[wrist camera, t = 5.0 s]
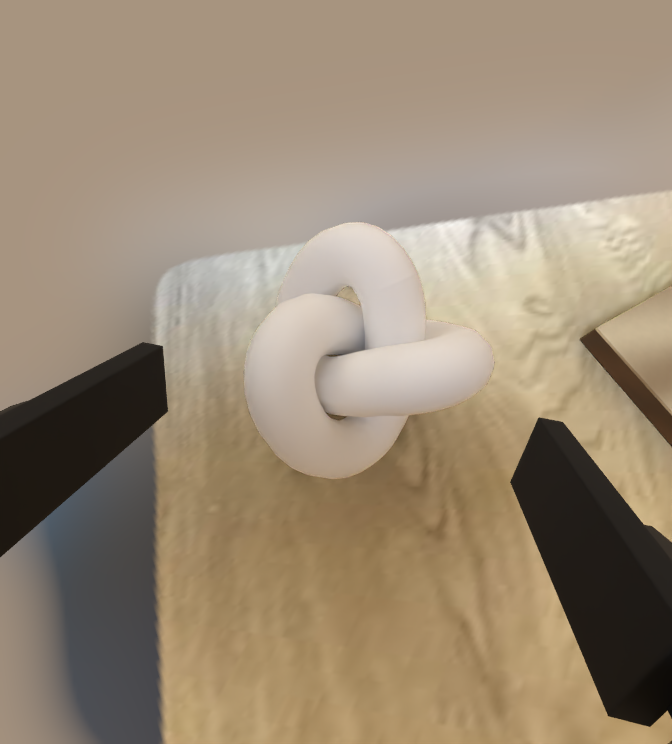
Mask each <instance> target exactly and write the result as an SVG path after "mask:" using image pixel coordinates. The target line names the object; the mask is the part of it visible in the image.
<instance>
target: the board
mask: <svg viewBox="0 0 672 744" xmlns="http://www.w3.org/2000/svg"><path fill="white" fill-rule="evenodd" d="M580 340H581V341H582V343H583V344H584V345H585V346H586V347H587V348H588V350H589V351H590V352H591V353H592V354H593V355H594V357H595V358H596V359H597V360H598V361H599V362H600V363H601V365H602V366H603V367H604V368H605V369H606V370H607V372H608V373H609V374H610V375H611V376H612V377H613V379H614V380H615V381H616V382H617V383H618V384H619V385H620V387H621V388H622V389H623V390H624V391H625V392H626V394H627V395H628V396H629V397H630V398H631V399H632V400H633V402H634V403H635V404H636V405H637V406H638V407H639V409H640V410H641V411H642V412H643V413H644V414H645V416H646V417H647V418H648V419H649V420H650V421H651V422H652V424H653V425H654V426H655V427H656V428H657V429H658V431H659V432H660V433H661V434H662V435H663V436H664V437H665V439H666V440H667V441H668V442H669V443H670V444H671V446H672V286H670V287H668V288H666V289H665V290H663V291H661V292H659V293H657V294H656V295H654V296H652V297H650V298H648V299H647V300H645V301H643V302H641V303H640V304H638V305H636V306H634V307H632V308H631V309H629V310H627V311H625V312H623V313H622V314H620V315H618V316H616V317H615V318H613V319H611V320H609V321H607V322H606V323H604V324H602V325H600V326H598V327H597V328H595V329H594V330H592V331H591V332H590V333H588V334H587V335H585V336H584V337H582V338H581V339H580Z"/></svg>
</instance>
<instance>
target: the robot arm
mask: <svg viewBox="0 0 672 744" xmlns="http://www.w3.org/2000/svg"><path fill="white" fill-rule="evenodd" d="M167 412H168V407H167V394H166V381H165V368H164V356H163V346H160V345H154V344H149V343H144V342H143V343H141V344H139V345H137V346H135V347H133V348H131V349H129V350H127V351H125V352H123V353H121V354H119V355H117V356H115V357H113V358H111V359H110V360H107V361H106V362H103V363H102V364H100V365H98V366H96V367H94V368H92V369H90V370H88V371H86V372H84V373H82V374H80V375H78V376H76V377H74V378H72V379H70V380H68V381H67V382H64V383H63V384H61V385H59V386H57V387H55V388H53V389H51V390H49V391H47V392H45V393H43V394H41V395H39V396H37V397H35V398H33V399H31V400H29V401H26V402H22V403H19V404H16V405H13V406H10V407H8V408H6V409H4V410H2V411H0V557H1V556H2V555H3V554H5V553H6V552H7V551H8V550H9V549H10V548H11V547H13V546H14V545H15V544H16V543H17V542H18V541H19V540H21V539H22V538H23V537H24V536H25V535H26V534H28V533H29V532H30V531H31V530H32V529H33V528H34V527H36V526H37V525H38V524H39V523H40V522H41V521H42V520H44V519H45V518H46V517H47V516H48V515H49V514H51V513H52V512H53V511H54V510H55V509H56V508H57V507H58V506H60V505H61V504H62V503H63V502H64V501H65V500H66V499H68V498H69V497H70V496H71V495H72V494H73V493H75V492H76V491H77V490H78V489H79V488H80V487H81V486H83V485H84V484H85V483H86V482H87V481H88V480H90V479H91V478H92V477H93V476H94V475H95V474H96V473H98V472H99V471H100V470H101V469H102V468H103V467H105V466H106V465H107V464H108V463H109V462H110V461H111V460H113V459H114V458H115V457H116V456H117V455H118V454H119V453H121V452H122V451H123V450H124V449H125V448H126V447H127V446H129V445H130V444H131V443H132V442H133V441H134V440H136V439H137V438H138V437H139V436H140V435H141V434H143V433H144V432H145V431H146V430H147V429H148V428H149V427H151V426H152V425H153V424H154V423H155V422H156V421H157V420H159V419H160V418H161V417H162V416H163V415H164V414H166V413H167ZM510 483H511V485H512V487H513V490H514V492H515V494H516V497H517V499H518V502H519V504H520V506H521V509H522V511H523V514H524V516H525V518H526V521H527V523H528V526H529V528H530V530H531V533H532V535H533V537H534V540H535V542H536V545H537V547H538V549H539V552H540V554H541V557H542V559H543V561H544V564H545V566H546V569H547V571H548V573H549V576H550V578H551V580H552V583H553V585H554V588H555V590H556V592H557V595H558V597H559V600H560V602H561V604H562V607H563V609H564V612H565V614H566V616H567V619H568V621H569V624H570V626H571V628H572V631H573V633H574V635H575V638H576V640H577V643H578V645H579V647H580V650H581V652H582V655H583V657H584V659H585V662H586V664H587V667H588V669H589V671H590V674H591V676H592V678H593V681H594V683H595V686H596V688H597V690H598V693H599V695H600V698H601V700H602V702H603V705H604V707H605V710H606V712H607V714H608V716H610V717H614V718H618V719H622V720H626V721H629V722H633V723H637V724H641V725H645V726H649V727H650V726H651V725H652V724H654V723H655V722H656V721H657V720H658V719H659V718H660V717H661V716H662V715H663V714H664V713H665V712H666V711H667V710H668V712H669V714H670V716H671V718H672V542H670V541H669V540H668V539H667V538H666V537H664V536H663V535H662V534H661V533H660V532H658V531H657V530H656V529H655V528H654V527H652V526H647V525H644V524H643V523H642V522H641V521H640V519H639V518H638V517H637V515H636V514H635V513H634V512H633V510H632V509H631V508H630V507H629V505H628V504H627V503H626V502H625V500H624V499H623V498H622V496H621V495H620V494H619V493H618V491H617V490H616V489H615V488H614V486H613V485H612V484H611V482H610V481H609V480H608V479H607V477H606V476H605V475H604V474H603V472H602V471H601V470H600V469H599V467H598V466H597V465H596V463H595V462H594V461H593V460H592V458H591V457H590V456H589V455H588V453H587V452H586V451H585V449H584V448H583V447H582V446H581V444H580V443H579V442H578V441H577V439H576V438H575V437H574V436H573V434H572V433H571V432H570V430H569V429H568V428H567V427H566V425H565V424H564V423H563V422H560V421H555V420H549V419H544V418H538V420H537V423H536V425H535V427H534V429H533V432H532V434H531V436H530V438H529V441H528V443H527V445H526V448H525V450H524V452H523V454H522V457H521V459H520V461H519V463H518V466H517V468H516V470H515V472H514V475H513V477H512V479H511V482H510ZM668 744H672V741H671V742H669V743H668Z"/></svg>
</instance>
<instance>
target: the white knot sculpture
mask: <svg viewBox="0 0 672 744" xmlns="http://www.w3.org/2000/svg"><path fill="white" fill-rule="evenodd" d="M349 286H350V287H351V288H352V289H353V290H354V292H355V293H356V295H357V297H358V299H359V301H360V303H361V306H360V305H358V304H355V303H353V302H351V301H349V300H346V299H344V298H341V297H337V296H336V295H337V294H338V293H339V292H340V291H341V290H342V289H344V288H345V287H349ZM327 355H341V356H334V357H330V356H327ZM494 364H495V361H494V357H493V352H492V347H491V345H490V344H489V343H488V342H487V341H486V340H485V339H484V338H483V337H482V336H481V335H480V334H479V333H478V332H477V331H476V330H474V329H471V328H468V327H464V326H460V325H456V324H452V323H447V322H442V321H435V320H428V319H426V308H425V298H424V292H423V288H422V284H421V281H420V278H419V275H418V272H417V270H416V268H415V266H414V264H413V262H412V260H411V258H410V257H409V255H408V254H407V252H406V251H405V249H404V248H403V247H402V246H401V245H400V244H399V243H398V242H397V241H396V240H395V239H394V238H393V237H392V236H391V235H390V234H388V233H387V232H385V231H384V230H382V229H381V228H379V227H377V226H373V225H370V224H366V223H363V222H354V223H344V224H341V225H337V226H334V227H332V228H329V229H326V230H324V231H321V232H320V233H319V234H317V235H316V236H315V237H313V238H312V239H311V240H309V241H308V242H307V243H306V245H305V246H304V247H303V248H302V249H301V250H300V251H299V253H298V254H297V256H296V257H295V259H294V261H293V262H292V264H291V266H290V267H289V269H288V271H287V273H286V276H285V278H284V280H283V283H282V285H281V288H280V290H279V293H278V297H277V301H276V304H275V308H274V309H273V310H272V311H271V312H270V314H269V315H268V316H267V317H266V319H265V320H264V321H263V322H262V323H261V324H260V325H259V326H258V328H257V329H256V331H255V333H254V334H253V336H252V338H251V341H250V344H249V347H248V350H247V353H246V359H245V366H244V392H245V397H246V401H247V405H248V409H249V413H250V415H251V418H252V420H253V422H254V424H255V426H256V428H257V430H258V432H259V433H260V435H261V436H262V437H263V439H264V440H265V441H266V443H267V444H268V445H269V447H270V448H271V449H272V450H273V452H274V453H275V454H276V456H277V457H279V458H280V459H281V460H282V461H283V462H285V463H286V464H287V465H288V466H290V467H291V468H293V469H295V470H297V471H299V472H301V473H304V474H306V475H310V476H316V477H322V478H329V479H340V478H348V477H350V476H353V475H356V474H359V473H361V472H362V471H364V470H365V469H367V468H369V467H370V466H372V465H373V464H374V463H376V462H377V461H378V460H379V459H380V458H382V457H383V456H384V455H385V454H386V453H387V451H388V450H389V449H390V448H391V447H392V445H393V444H394V442H395V441H396V439H397V437H398V435H399V433H400V432H401V430H402V428H403V426H404V425H405V423H406V421H407V418H408V416H409V415H416V414H423V413H429V412H434V411H439V410H443V409H447V408H450V407H452V406H455V405H458V404H460V403H462V402H464V401H466V400H468V399H469V398H471V397H472V396H473V395H475V394H476V393H478V392H479V391H480V390H482V389H483V388H484V387H485V386H486V385H487V384H488V381H489V379H490V376H491V373H492V371H493V368H494ZM325 412H326V413H330V414H334V415H340V416H347V417H346V418H344V419H342V420H339V421H338V420H335V419H332V418H330V417H329V416H328V415H327V414H326V413H325Z"/></svg>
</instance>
